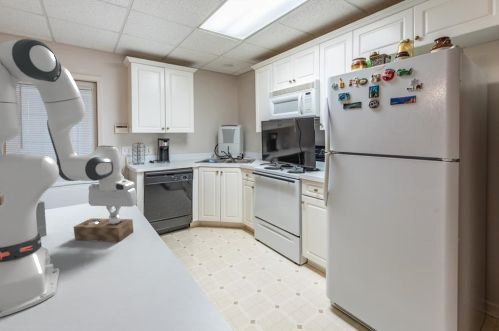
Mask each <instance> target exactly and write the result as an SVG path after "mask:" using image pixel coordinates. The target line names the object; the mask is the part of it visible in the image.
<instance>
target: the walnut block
mask: <svg viewBox="0 0 499 331" xmlns="http://www.w3.org/2000/svg"><path fill="white" fill-rule="evenodd" d="M92 221H99V223H97V224H95V225H88V223H89V222H92ZM133 222H134V221H133V218H132V219H131V218H120V224H118V225H110V224H109V218H94V217H93V218H89V219H87V220H85V221H83V222H81V223H78V224H76V225H74V226H73V233H74V241H80V242H81V241H82V242H109V241H110V243H111V242H115V243H121V242H122V241H123V240H124V239H126V238H127V237H129V236H130V235H131V234H134V223H133Z"/></svg>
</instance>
